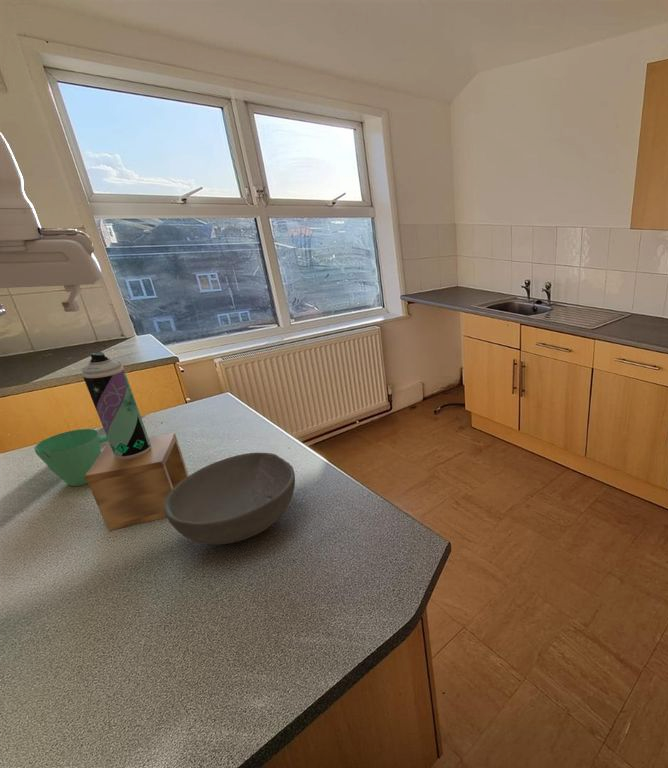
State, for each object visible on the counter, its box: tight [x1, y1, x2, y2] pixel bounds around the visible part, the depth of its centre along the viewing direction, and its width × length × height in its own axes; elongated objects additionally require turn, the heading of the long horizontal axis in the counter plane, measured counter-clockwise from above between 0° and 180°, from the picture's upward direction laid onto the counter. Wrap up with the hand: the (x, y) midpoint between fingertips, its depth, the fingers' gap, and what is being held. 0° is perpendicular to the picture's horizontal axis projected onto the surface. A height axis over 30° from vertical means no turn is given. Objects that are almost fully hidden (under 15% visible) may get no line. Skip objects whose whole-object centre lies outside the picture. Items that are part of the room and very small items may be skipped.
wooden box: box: [85, 432, 189, 531], centre depth 85 cm, size 11×12×12 cm
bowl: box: [164, 452, 296, 545], centre depth 80 cm, size 20×20×10 cm
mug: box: [33, 428, 109, 487], centre depth 94 cm, size 15×10×10 cm
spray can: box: [81, 351, 152, 460], centre depth 79 cm, size 6×6×20 cm
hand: (36, 313), depth 74 cm, fingers open, 8 cm apart
